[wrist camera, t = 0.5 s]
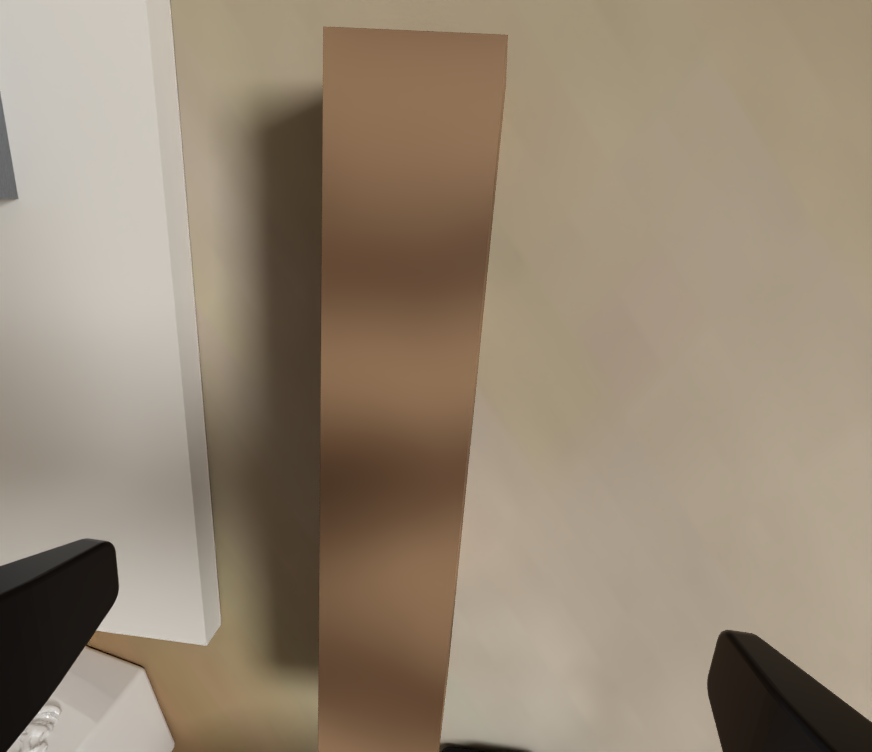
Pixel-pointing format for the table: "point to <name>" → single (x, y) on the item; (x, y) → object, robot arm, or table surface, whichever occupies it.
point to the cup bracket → (6, 162)
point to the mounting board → (102, 312)
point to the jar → (99, 711)
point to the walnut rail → (399, 365)
